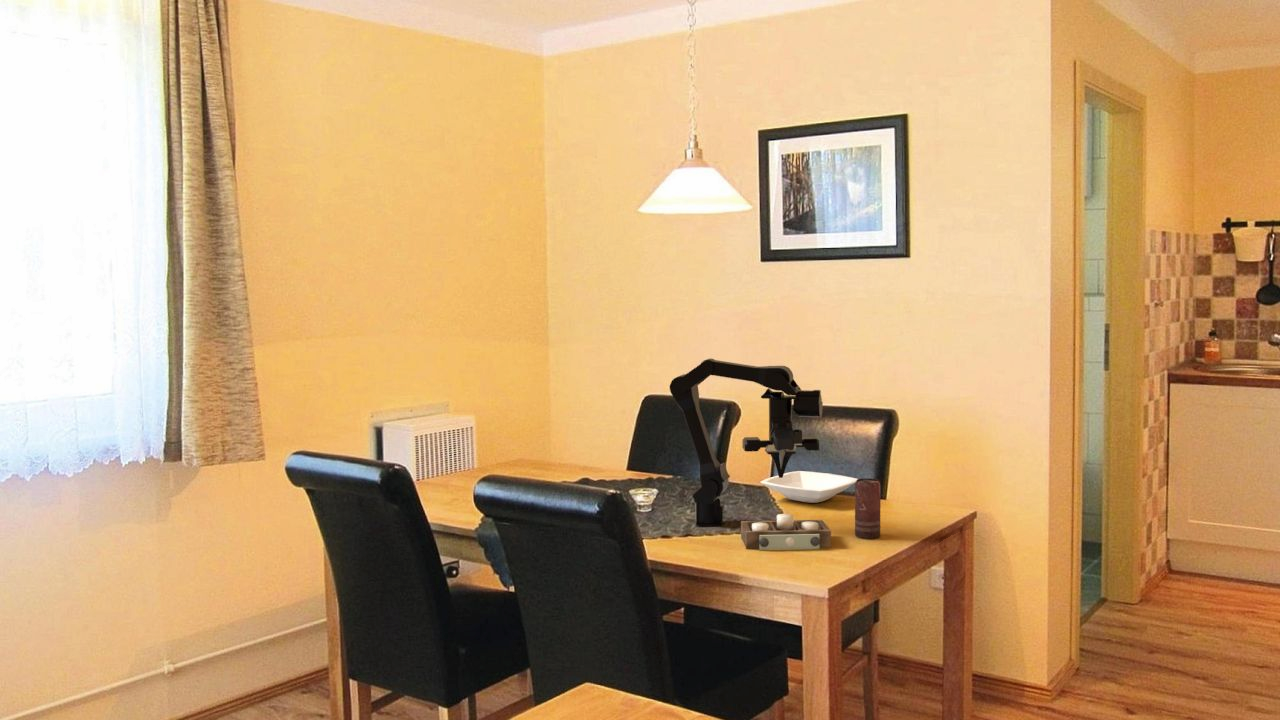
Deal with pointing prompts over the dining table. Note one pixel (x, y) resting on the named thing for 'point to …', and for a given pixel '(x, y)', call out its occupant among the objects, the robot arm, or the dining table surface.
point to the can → (867, 508)
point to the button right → (809, 525)
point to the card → (789, 542)
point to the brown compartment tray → (783, 532)
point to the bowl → (809, 485)
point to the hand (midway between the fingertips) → (780, 477)
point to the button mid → (785, 521)
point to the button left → (760, 526)
